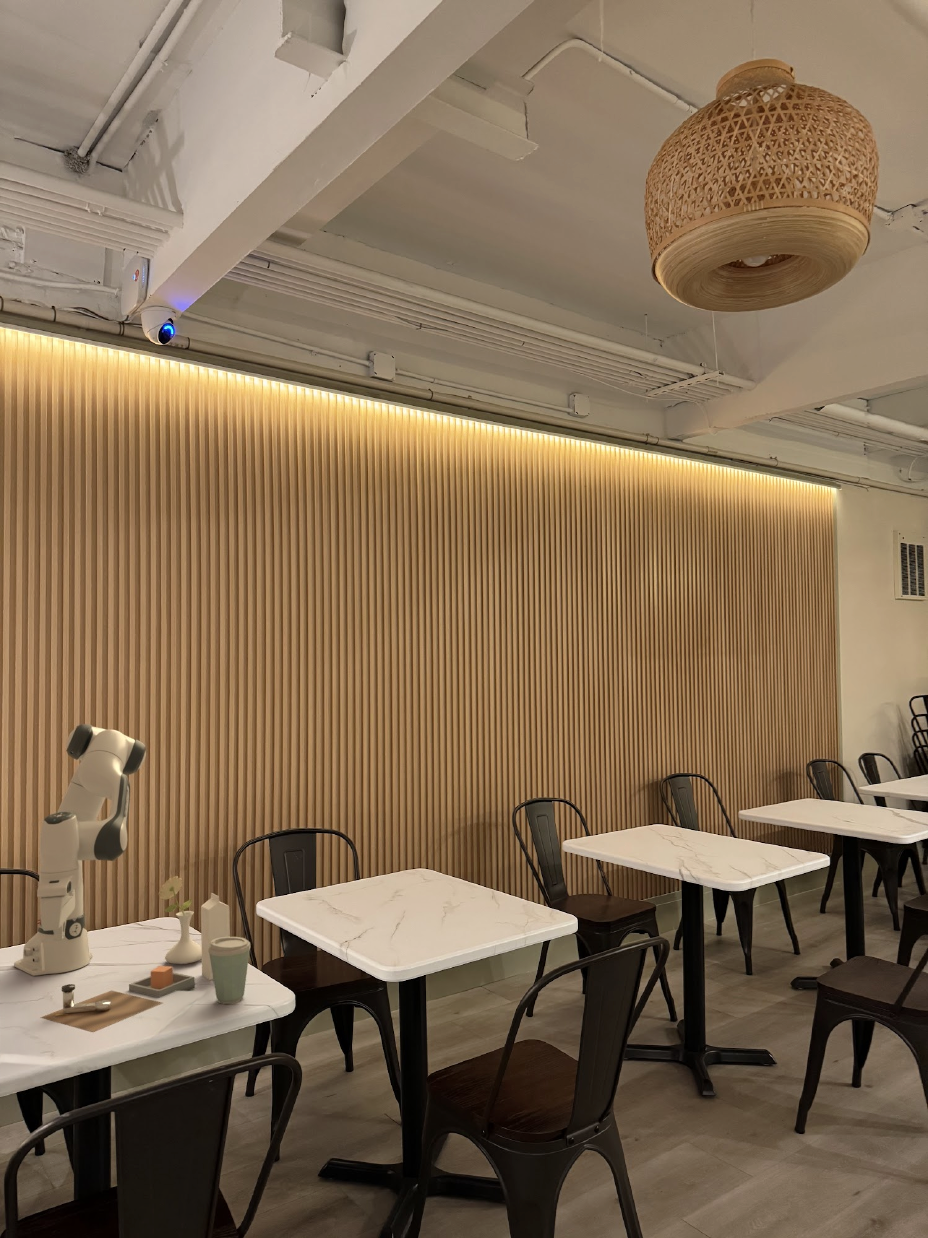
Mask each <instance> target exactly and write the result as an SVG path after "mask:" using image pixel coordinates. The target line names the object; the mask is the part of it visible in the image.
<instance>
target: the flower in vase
mask: <svg viewBox="0 0 928 1238" xmlns="http://www.w3.org/2000/svg"><path fill="white" fill-rule="evenodd" d="M182 885H183V879H182V877H179V876H178V875H176V876H173V877H169V878H168V880H166V881H165V882H164V884H162V885H161V887H160V889H159V891H158V896H159V898H158V899H161V900H163V899H164V900H169V899H171V898H173V897H174V898H175V901H176V904H174V903H173V904H170V905H168V906H167V907H166V909H164V911H163V912H164V913H172V912H174V911H175V910H176V909H177V908H178V909H180V912H176V913H175V916H176V917H177V918H178V920H179V924H180V939H179V940H178V942H177V943H175V945H174V946H172V947H171V948H170V950H168V952H167V953H166V954H165V956H164V959H165V961H166V962H167V963H169V964H173V965H185V964H192V963H196V962H198V961H200V960H202V945H200V944H199V943H197V942H196V941H193V939H192V938H191V936H190V923H191V919H192V916H193V915H194V914H195V912H194V911H191V910H186V909H188V908H190V907H191V906H192V898H189V899H188V900H187V901H185V902H183V903H182V904H181V906H180V905H179V902H178V899H177V894H178V892H179V891H180V890H181V888H182V887H183V886H182ZM184 910H185V911H184Z"/></svg>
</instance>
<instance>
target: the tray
mask: <svg viewBox="0 0 928 1238" xmlns="http://www.w3.org/2000/svg"><path fill="white" fill-rule="evenodd" d="M195 980H196V979H195V976H192V975H187V974H183V973H178V972H173V984H172V985H170V986H167V987H165V988H162V989H160V990H159V989H154V988H151V975H150V976H148V977H145V978H143V979H142V978H141V979H139V980H137V981H134V982H131V983H129V984H128V990H129V991H130V992H135V993H139V994H143V995H147V996H152V997H155V998H160V997H161V998H162V997H163V996H166V995H168V994H171V993H173V992H177V991H178V992H189V991H193V990H195V988H196V986H195Z"/></svg>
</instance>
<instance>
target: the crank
mask: <svg viewBox="0 0 928 1238" xmlns="http://www.w3.org/2000/svg"><path fill="white" fill-rule="evenodd" d="M75 989H76V984H72V983H71V984H68V983H67V984H65V985H63V986H61V992H62V1009H63V1013H72V1012H83V1011H94V1010H95V1011H106V1010H108V1009H110V1008H111V1001H109V1000H103V1001H99V1002H96V1003H85V1004H77V1003H74V1001H75V999H74V998H75Z"/></svg>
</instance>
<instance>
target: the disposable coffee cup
mask: <svg viewBox="0 0 928 1238" xmlns="http://www.w3.org/2000/svg"><path fill="white" fill-rule="evenodd" d="M250 949H251V941H249V940H248V939H246V938H245V937H239V936H230V937H221V938H216V939H213V940H212V941H211V945H210V946H209V951H208V953H209V955H210V961H211V967H212V973H213V984H214V991H215V996H216V999H217V1002H218V1003H219V1004H224V1005H230V1004H231V1005H232V1004H235V1003H239V1002H241V1001H242V1000H243V998H244V995H245V989H246V982H247V974H248V966H249V958H250V957H249V956H250V952H251V951H250Z"/></svg>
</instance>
